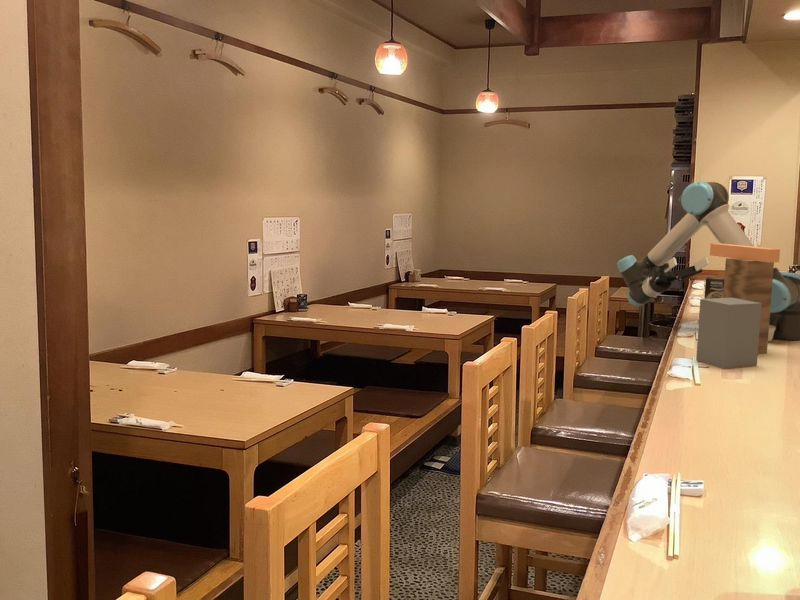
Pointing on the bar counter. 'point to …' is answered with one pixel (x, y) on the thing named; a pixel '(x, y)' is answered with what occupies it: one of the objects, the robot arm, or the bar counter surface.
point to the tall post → (751, 289)
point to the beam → (745, 252)
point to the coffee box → (714, 288)
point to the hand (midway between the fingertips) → (691, 260)
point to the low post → (728, 332)
